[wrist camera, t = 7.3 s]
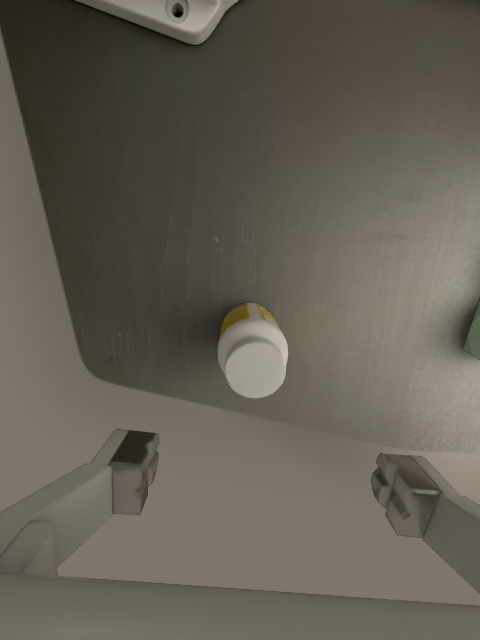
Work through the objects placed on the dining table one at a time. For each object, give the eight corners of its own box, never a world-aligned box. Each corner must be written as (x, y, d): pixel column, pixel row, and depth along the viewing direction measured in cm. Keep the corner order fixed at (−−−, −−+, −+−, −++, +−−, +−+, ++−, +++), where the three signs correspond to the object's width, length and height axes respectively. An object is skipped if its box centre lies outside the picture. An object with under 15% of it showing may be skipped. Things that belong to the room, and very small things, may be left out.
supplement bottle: (219, 349, 26) (208, 403, 17) (225, 298, 25) (217, 325, 15) (270, 356, 26) (289, 412, 17) (279, 305, 25) (304, 335, 16)
